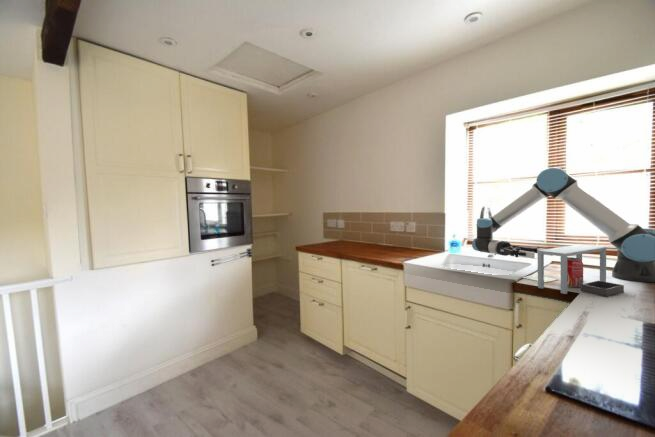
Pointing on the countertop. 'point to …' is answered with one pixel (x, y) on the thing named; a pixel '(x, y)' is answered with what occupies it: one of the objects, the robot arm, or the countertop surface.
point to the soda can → (574, 272)
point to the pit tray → (602, 288)
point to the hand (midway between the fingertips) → (543, 254)
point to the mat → (535, 278)
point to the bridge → (565, 252)
